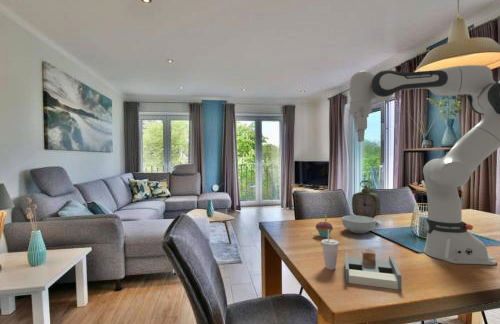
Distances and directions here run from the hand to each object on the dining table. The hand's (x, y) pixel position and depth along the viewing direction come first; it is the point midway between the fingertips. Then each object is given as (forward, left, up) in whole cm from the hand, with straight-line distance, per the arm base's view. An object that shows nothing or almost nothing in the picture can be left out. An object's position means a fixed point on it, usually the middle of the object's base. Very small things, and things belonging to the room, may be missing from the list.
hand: (361, 141), depth 116 cm
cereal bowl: (0, -26, -48) cm, 54 cm away
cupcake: (+17, -13, -48) cm, 52 cm away
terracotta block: (-1, +23, -45) cm, 50 cm away
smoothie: (+13, +25, -48) cm, 55 cm away
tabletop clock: (-5, -50, -48) cm, 69 cm away
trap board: (-1, +28, -47) cm, 55 cm away
